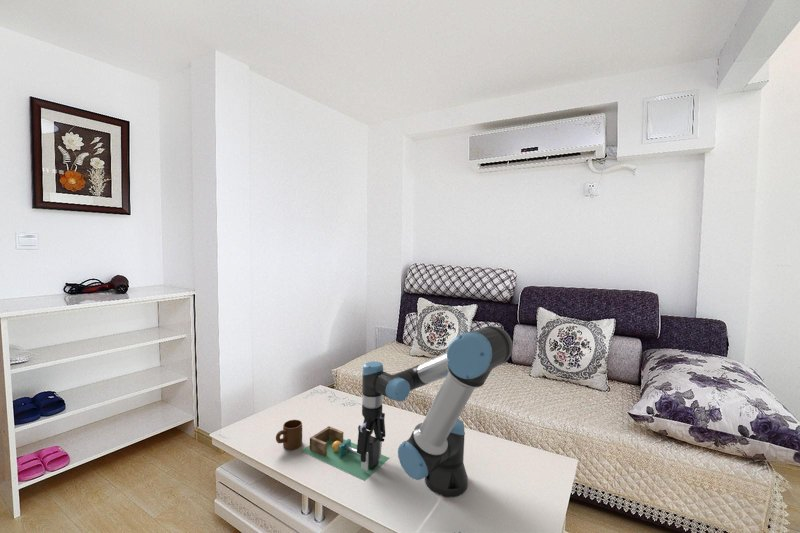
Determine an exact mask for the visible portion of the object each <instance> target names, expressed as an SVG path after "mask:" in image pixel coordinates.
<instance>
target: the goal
mask: <svg viewBox="0 0 800 533" xmlns="http://www.w3.org/2000/svg"><path fill="white" fill-rule="evenodd" d="M343 439H344V431H343V430H339V429H336V428H335V427H333V426H327V427H325V428H324V429H322V430H320V431H319V432H317V433H315V434H314V435H312V436H310V437H309V445H310V450H311V451H313V452H315V453H318V454H320V455H322V456H324V457H325V456H326V455H327V443H326V441H328V440H331V441H333V442H335V441H340V442H341V443H343Z"/></svg>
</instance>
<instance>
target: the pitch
mask: <svg viewBox="0 0 800 533" xmlns="http://www.w3.org/2000/svg"><path fill="white" fill-rule="evenodd" d="M346 440H347V439H344V438H343V442H345V441H346ZM326 443H327V455H326V456H325V457H324V456H322V455H320V454H318V453H315V452H313V451H311V450H310V444H309V445H308V446H306V447H304V448H303V449H301V453H304V454H306V455H309V456H310V457H312V458H315V459H317V460H319V461H321V462H323V463H326V464H328V465H330V466H332V467H334V468H336V469H339V470H340V471H343V472H344V473H347V474H349V475H351V476H353V477H355V478H357V479H359V480H362V481H363V482H366V480H368V479H369V477H371V476H372V475H373V474H374V473H375V472H376V471H378V469H379V468H381V467H382V466H383V465H384V464H385V463H386V462H387V461H388V460H389V459H390V457H389V456H386V455H383V454H381V459H379V464H378V465H377V466H376V467H375V468H374V469H373V470H371V469H369V468H368V470H367V471H366V470H364V469H362V468H361V457H360V456H358V455H355V454H353V453H351V452H348V453H347V454H345V455H344V456H343V457H341V458H340V457H338V452H335V451H333V449H332V444H333V443H334V442H333V441H331V440H328V441H326ZM351 447H352V448H355V449H357V443H353V442H352V441H351Z"/></svg>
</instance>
